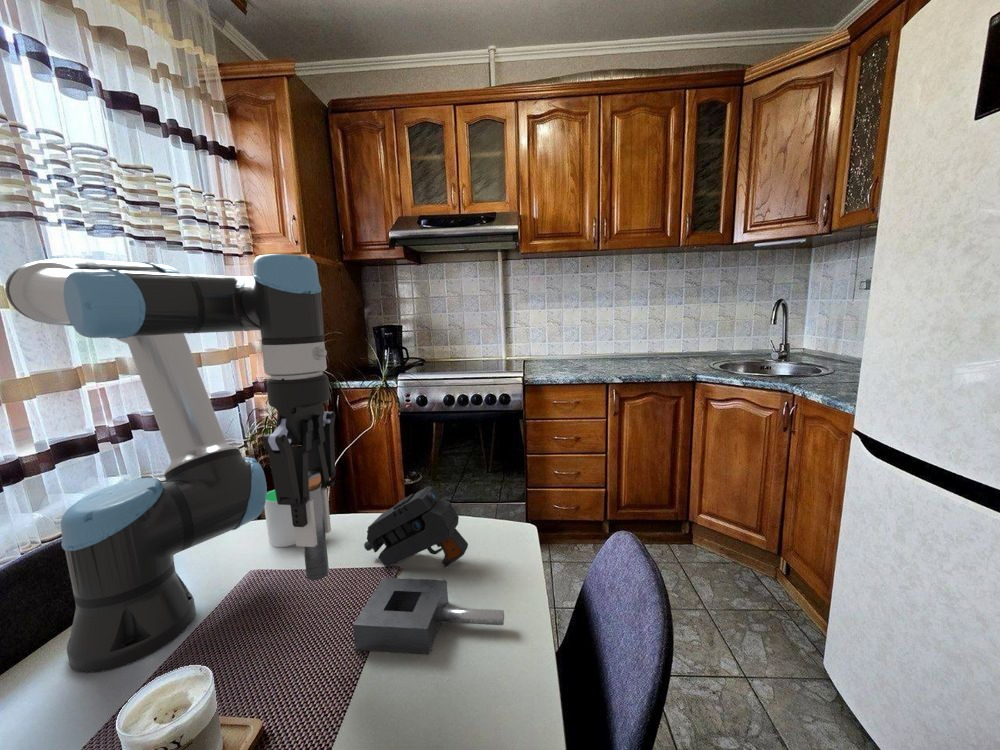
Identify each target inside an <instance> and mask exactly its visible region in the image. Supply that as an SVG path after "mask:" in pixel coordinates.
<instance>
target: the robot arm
mask: <svg viewBox="0 0 1000 750" xmlns="http://www.w3.org/2000/svg"><path fill="white" fill-rule="evenodd" d="M252 263H253V264H252V266H253V267H252V275H250V276H248V275H247V276H234V275H233V276H232V275H211V274H191V273H190V274H189V273H187V274H186V273H182V272H180V271H179V270H177V268H175V267H172V266H170V265H167V264H157V263H153V262H149V261H148V262H147V261H144V262H129V261H128V262H126V261H115V260H97V259H83V258H74V257H73V258H71V257H69V258H68V257H65V258H50V259H43V260H36V261H31V262H30V263H25V264H22V266H19V267H18V268H17V267H16V269H15V270H14V271H13V272H11V274H9V276H8V278H7V280H6V282H5V289H4V291H5V295H6V296H5V297H6V299H7V300H8V302H9V303H10V305H11V306H12V307H13V309H14V310H16V311H17V312H19V314H21V315H22V316H24V317H26V318H28V319H31V320H32V321H35V322H39V323H43V324H47V325H55V326H66V327H70V326H71V327H74V330H75V332H76V333H77V334H78V335H81V336H82V337H84V338H85V337H86V338H90V339H91V338H92V339H100V338H101V339H102V338H106V339H107V338H109V339H116V340H117V341H119V342H122V343H125V344H127V345H128V348H129V351H130V354H131V356H132V358H133V359H132V360H133V361H134V364H135V367H136V370H137V372H138V375H139V378H140V381H141V384H142V387H143V389H144V391H145V394H146V397H147V399H148V402H149V406H150V408H151V411H152V413H153V416H154V418H155V421H156V424H157V427H158V429H159V432H160V435H161V437H162V441H163V443H164V445H165V449H166V451H167V454H168V457H169V459H170V464H169V465H168V466H167V468H166V470H165V471H164V473H163V475H164V478H165V481H166V482H161V481H160V479H158V478H157V477H139V478H136V479H133V480H126V481H122V482H119V483H116V484H113V485H110V486H107V487H104V488H101V489H99V490H97V491H95V492H92V493H90V494H88V495H86V496H84V497H83V498H81V499H79V500H77V501H76V502H74V504H73V505H71V506H70V507H68V508H67V510H66V511H65V512H64V513H63V515H62V517H61V519H60V529H61V530H60V531H61V549H63V550H64V553H65V558H66V563H67V567H68V572H69V577H70V582H71V583H70V584H71V588H72V593H73V597H74V602H75V611H74V616H73V621H72V625H71V631H70V637H69V639H68V642H67V645H66V653H67V660H68V664H69V666H70V668H71V669H72V670H74V671H76V672H79V673H86V674H89V673H101V672H106V671H111V670H115V669H118V668H122V667H123V666H124V667H125V666H127V665H130V664H133V663H134V662H137V661H140V660H142V659H144V658H146V657H148V656H149V655H152V654H154V653H156V652H157V651H159V650H161V649H162V648H164V647H166V646H167V645H169V644H170V643H172V642H173V641H174V640H175V639H177V638H178V637H179V636H180V635H182V634H183V633H184V632H185V631H186V630H187V629H188V628H189V626H190V625H191V624H192V623H193V621H194V619H195V616H196V614H197V611H196V603H195V598H194V595H192V593H191V592H190V591H189V588H188V587H187V585H186V583H185V582H184V581H183V580H182V578H181V577H180V576H179V574H178V573H177V571H176V566H175V560H174V556H175V555H176V554H178V553H181V552H182V551H185V550H188V549H191V548H192V547H194V546H197V545H200V544H202V543H204V542H206V541H207V542H208V541H209V540H212V539H213V538H217V537H218V536H221V535H223V534H225V533H228V532H231V531H235V530H237V529H240V527H242V526H244V525H246V524H248V523H250V522H252V521H254V520H256V519H257V518H258V517H260V515H261V514H262V513H263V511H264V510H265V508H264V506H265V502H266V497H267V493H268V490H267V489H268V486H267V481H266V480H267V479H266V476H265V475H266V474H265V472H264V469H263V468H262V465H261V464H260V463H259V462H258V460H257V459H256V458H253V457H248V456H247V457H243V456H242V453H241V450H240V448H239V447H237V446H234V445H231V444H229V443H228V442H227V440H226V438H225V435H224V433H223V430H222V428H221V426H220V423H219V420H218V417H217V415H216V413H215V410H214V407H213V404H212V402H211V399H210V397H209V395H208V392H207V389H206V387H205V383H204V381H203V379H202V377H201V373H200V371H199V368H198V366H197V363H196V361H195V358H194V356H193V354H192V350H191V348H190V345H189V342H188V341H187V338H186V335H185V334H189V335H190V334H206V333H226V332H228V333H229V332H249V331H260V338H261V349H262V358H263V359H262V360H263V369H264V371H263V372H264V374H266V375H267V376H269V378H268V379H267V381H266V382H265V384H266V391H267V402H268V405H269V406H270V407H272V408H275V410H276V411H277V418H276V421H275V422H276V423H275V425H276V428H275V430H274V431H273V432H272V433H271V434H268V433H267V434H264V435H263V437H262V441H261V442H262V444H263V446H264V448H265V449H266V452H267V453H268V459H269V464H270V465H269V466H270V471H271V474H272V475H271V476H272V480H273V485H274V487H273V488H274V490H275V492H276V498H277V503H278V504H279V505H290V506H291V514H292V523H293V526H294V532H295V541H296V544H295V547H303V546H305V547H315V546H316V545H317V535H316V525H315V515H314V505H313V500H309V499H308V498H309V493H308V471H318V472H319V473H320V474H321V493H322V503H323V513H324V524H325V534H329V533H330V532H331V531H332V526H331V516H330V515H331V514H330V506H329V505H330V504H329V493H328V487H329V488H333V487H334V486H335V480H332V479H333V478H335V476H336V474H337V472H336V453H335V452H336V451H335V430H334V429H335V428H334V427H335V423H336V422H335V421H336V412H335V411H325V408H324V405H323V404H325V403H327V402H328V401H329V400H330V398H331V395H330V394H331V393H330V384H329V377H328V376H329V375H327V374H326V373H324V372H325V371H326V370H327V368H328V365H327V355H328V352H327V350H326V346H325V331H324V330H325V329H324V319H323V318H324V316H323V303H322V286H321V285H320V279H319V272H318V265H317V263H316V261H314V259H313V258H311V257H309V256H306V255H305V256H304V255H299V254H290V253H289V254H287V253H283V254H282V253H280V254H279V253H276V254H275V253H274V254H273V253H272V254H270V253H269V254H261V255H258V256H256V257H255V259H254V260H253V262H252ZM330 479H331V480H330Z"/></svg>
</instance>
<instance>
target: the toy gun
mask: <svg viewBox="0 0 1000 750" xmlns="http://www.w3.org/2000/svg"><path fill="white" fill-rule="evenodd" d="M459 519H460V516H459V514H458V513H457V512H456V509H455V508H454V506H453V504H452V503H451V501H447V500H444V499H443V498H442V499H441V498H439V495H438V494H437V493H436V490H435V489H434V487H432V486H430V485H429V486H428V485H427V486H425V488H423V489H421V490H419V491H417V492H416V493H415V494H414V493H411V494H410V495H408V496H406V497H404V498H403V499H401V500H399V502H397V503H396V505H394V506H392V507H391V508H389V509H388V510H386V511H384V512H382V513H381V514H380V515H379V516H378V517H377V518H376V519H375V520H374V521H373V522H372V523H371V524H370V525H368V527H367V530H366V532H367V534H366V541H365V542H364V544H363V547H364V549H365V550H366V551H367V552H368V551H371V550H373V551H374V553H377V552H378V551H379V550H380V549H381V548H382V546H383V545H384V546H385V547H384V549H383V550H382V551H381V552H380V553H379V554H378V560H379V561H380V562H381V563H382V565H383V566H385V567H388V568H390V567H392V566H394V565H396V564H398V563H400V562H402V561H405V560H407V559H408V558H411V557H412V556H414V555H416V554H417V555H418V554H419V553H421V552H423V551H426V550H427V551H428V552H429V553H430V554H431V555H438V554H439V553H440V552H442V551H443V554H444V557H443V559H442V560H441V564H442V566H443V568H445V569H447V568H448V567H449V566H450V565H451V566H452V564H453V563H455V562H456V561H458V560H459V559H460V558H461V557H463V556H464V555H465V553H466V551H467V549H468V546H469V543H468V541H466V540H465V538H464V536H462V534H461V533H460V532H459V531H458V529H457V526H458V525H459ZM435 545H436V546H437V548H438V549H436V550H435V549H433V548H432V547H434V546H435Z"/></svg>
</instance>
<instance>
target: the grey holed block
mask: <svg viewBox="0 0 1000 750" xmlns="http://www.w3.org/2000/svg"><path fill="white" fill-rule="evenodd" d="M448 593H449V592H448V580H447V579H424V578H423V579H422V578H399V577H397V578H396V577H383V578H382V579H381V580H380V582H379V584H378V585H377V587H376V588H375V589H374V591H373V592H372V595H371V596H370V597H369V599H368V601H367V602H366V604H365V605H364V606H363V608H362V610H361V612H360V613H359V615H358V616H357V618H356V619H355V621H354V623H352V630H353V631H352V632H353V639H354V640H353V641H354V649H355V651H368V652H382V653H395V654H396V653H398V654H411V655H426V656H427V655H429V656H430V653H431V651H432V647H433V645H434V642H435V640H436V637H437V634H438V631H439V629H440V626H441V624H442V623H446V624H447V623H451V624H469V625H470V624H471V625H485V626H486V625H490V626H504V623H505V610H504V609H490V608H489V609H486V608H485V609H484V608H467V607H466V608H465V607H448V605H449V594H448Z"/></svg>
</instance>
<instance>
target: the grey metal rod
mask: <svg viewBox="0 0 1000 750" xmlns="http://www.w3.org/2000/svg"><path fill="white" fill-rule="evenodd" d="M308 493H309V498H308V499H309V500H313V505H314V515H315V525H316V535H317V545H316V546H315V547H305V546H302V547H303V548H302V549H303V556H304V557H303V558H304V565H305V567H304V568H305V575H306V576H305V577H306V579H307V580H309V581H317V580H319V581H320V580H322V579H324V578H326V576H328V575H329V573H330V568H329V558H328V557H329V556H328V548H327V547H328V546H327V536H326V535H327V533H325V524H324V513H323V503H322V493H321V474H320V473H319V472H318V471H308Z"/></svg>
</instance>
